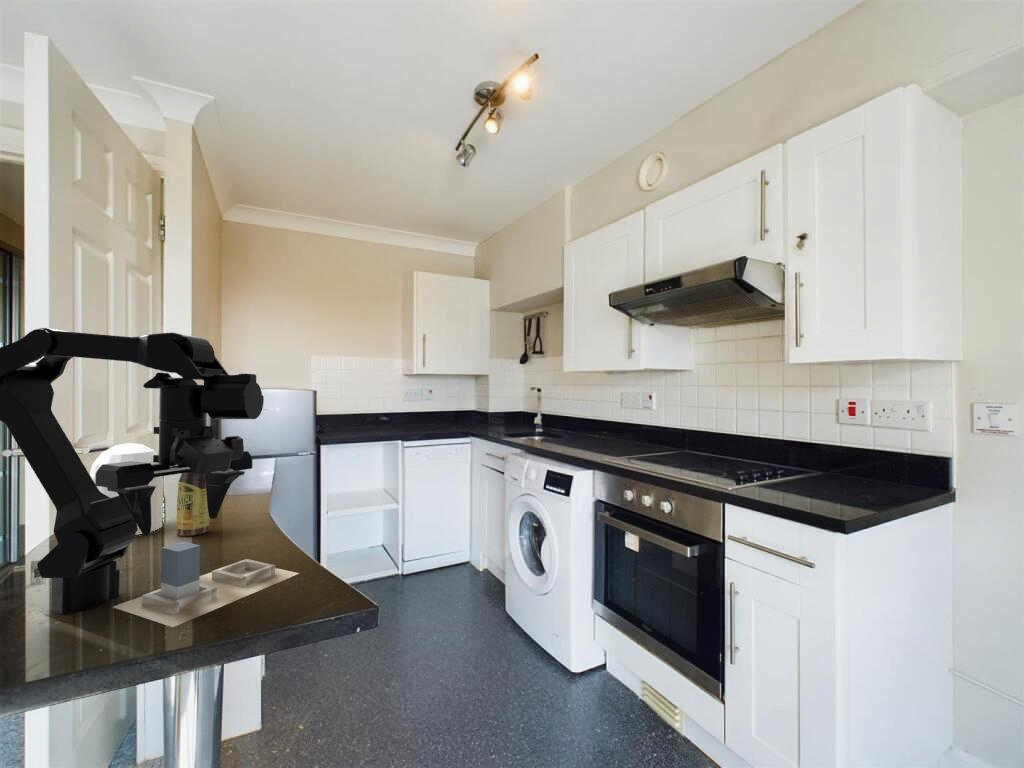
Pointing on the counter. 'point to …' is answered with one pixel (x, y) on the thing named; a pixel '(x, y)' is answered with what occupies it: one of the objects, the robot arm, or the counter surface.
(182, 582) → the plug
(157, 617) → the socket dock
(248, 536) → the counter surface
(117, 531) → the robot arm
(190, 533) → the sauce bottle
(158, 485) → the container
